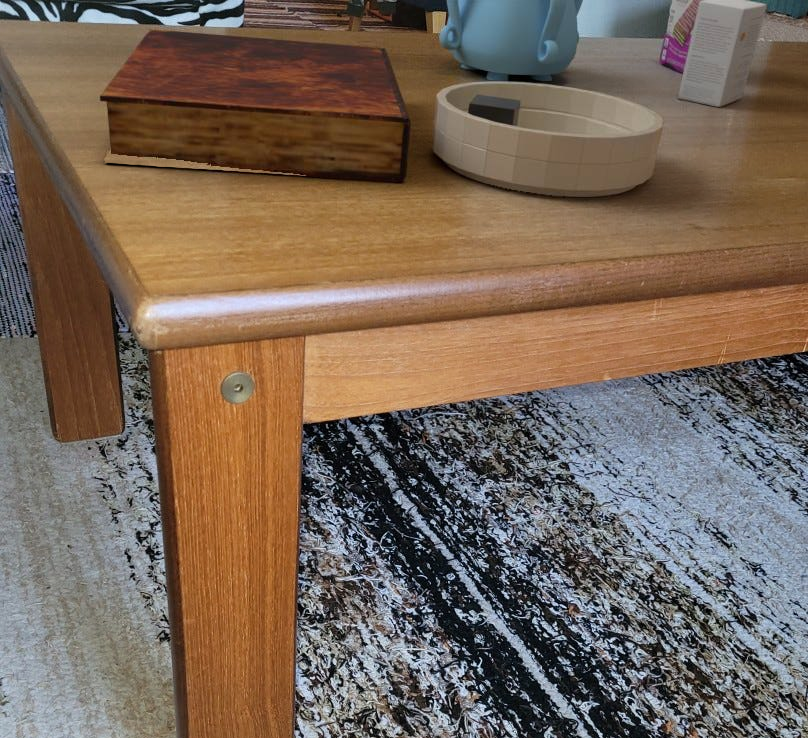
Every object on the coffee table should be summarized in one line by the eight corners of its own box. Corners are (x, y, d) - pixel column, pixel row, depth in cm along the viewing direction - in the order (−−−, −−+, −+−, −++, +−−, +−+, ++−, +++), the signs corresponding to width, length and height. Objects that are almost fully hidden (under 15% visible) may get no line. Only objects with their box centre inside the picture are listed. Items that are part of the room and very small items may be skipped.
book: (406, 183, 81) (411, 118, 78) (103, 163, 78) (97, 95, 75) (383, 100, 104) (386, 48, 102) (151, 82, 102) (148, 29, 99)
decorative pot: (588, 75, 126) (610, -48, 118) (547, 94, 114) (569, -42, 106) (471, 54, 131) (485, -65, 123) (420, 70, 119) (431, -61, 111)
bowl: (652, 155, 95) (664, 100, 92) (647, 214, 79) (661, 149, 76) (453, 126, 97) (459, 72, 95) (410, 178, 82) (415, 114, 79)
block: (514, 147, 90) (520, 100, 88) (508, 157, 87) (514, 109, 84) (471, 140, 90) (476, 94, 88) (463, 151, 87) (469, 103, 85)
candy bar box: (655, 63, 137) (684, -75, 128) (687, 64, 139) (718, -72, 129) (696, 81, 129) (731, -66, 119) (729, 82, 130) (766, -63, 121)
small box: (700, 90, 124) (722, -5, 118) (743, 99, 121) (768, 3, 115) (675, 98, 118) (698, -1, 112) (719, 108, 116) (745, 7, 110)
